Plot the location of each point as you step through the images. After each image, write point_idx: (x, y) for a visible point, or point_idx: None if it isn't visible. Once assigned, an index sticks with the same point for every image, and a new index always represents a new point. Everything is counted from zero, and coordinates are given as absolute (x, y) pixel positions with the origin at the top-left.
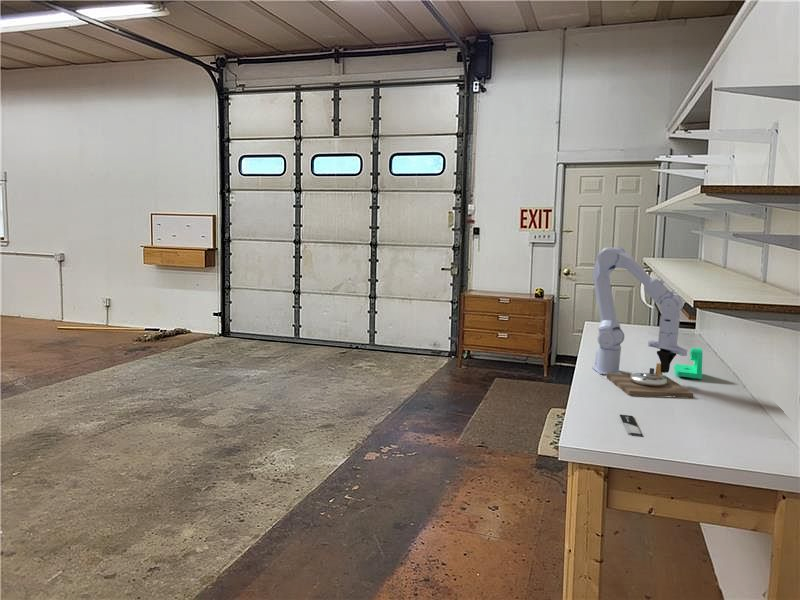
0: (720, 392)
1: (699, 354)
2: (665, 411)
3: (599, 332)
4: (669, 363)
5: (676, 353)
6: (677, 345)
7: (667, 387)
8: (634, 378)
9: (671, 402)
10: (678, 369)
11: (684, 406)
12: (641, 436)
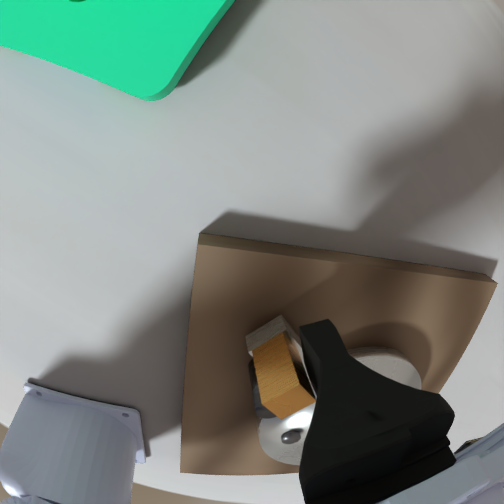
0: (463, 68)
1: None
2: (486, 394)
3: None
4: (352, 364)
5: (495, 437)
6: (486, 482)
7: (419, 354)
8: None
9: (471, 365)
10: (89, 59)
11: (499, 343)
12: None
